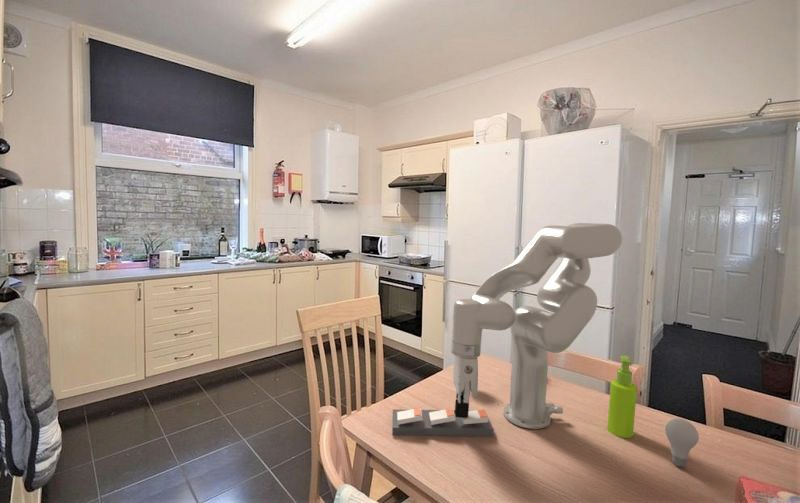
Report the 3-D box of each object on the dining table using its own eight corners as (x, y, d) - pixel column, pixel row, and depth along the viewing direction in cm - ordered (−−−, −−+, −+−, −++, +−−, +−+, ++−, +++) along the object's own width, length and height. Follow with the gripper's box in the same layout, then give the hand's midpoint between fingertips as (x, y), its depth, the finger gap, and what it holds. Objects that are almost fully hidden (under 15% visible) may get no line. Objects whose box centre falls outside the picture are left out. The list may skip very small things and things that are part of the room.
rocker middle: (453, 412, 98) (452, 407, 98) (455, 420, 94) (454, 415, 94) (429, 416, 98) (428, 411, 98) (431, 425, 95) (430, 420, 94)
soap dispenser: (630, 426, 100) (636, 355, 98) (634, 440, 94) (640, 364, 92) (606, 421, 103) (611, 352, 101) (608, 434, 96) (614, 360, 95)
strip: (484, 417, 103) (485, 408, 103) (493, 436, 94) (493, 426, 94) (392, 416, 103) (392, 407, 103) (392, 435, 94) (392, 425, 94)
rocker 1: (421, 411, 98) (420, 406, 98) (422, 420, 94) (421, 414, 94) (398, 416, 98) (397, 411, 98) (398, 424, 94) (397, 419, 94)
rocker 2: (484, 413, 99) (484, 408, 98) (488, 422, 95) (488, 417, 95) (460, 415, 99) (460, 411, 98) (463, 424, 95) (463, 419, 94)
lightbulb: (684, 478, 80) (689, 430, 79) (656, 460, 86) (660, 416, 85) (701, 470, 83) (706, 424, 82) (672, 454, 88) (676, 411, 87)
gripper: (487, 359, 87) (482, 432, 89) (474, 339, 102) (469, 402, 104) (456, 357, 87) (451, 431, 89) (447, 337, 102) (443, 401, 104)
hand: (461, 415), depth 96 cm, fingers closed
